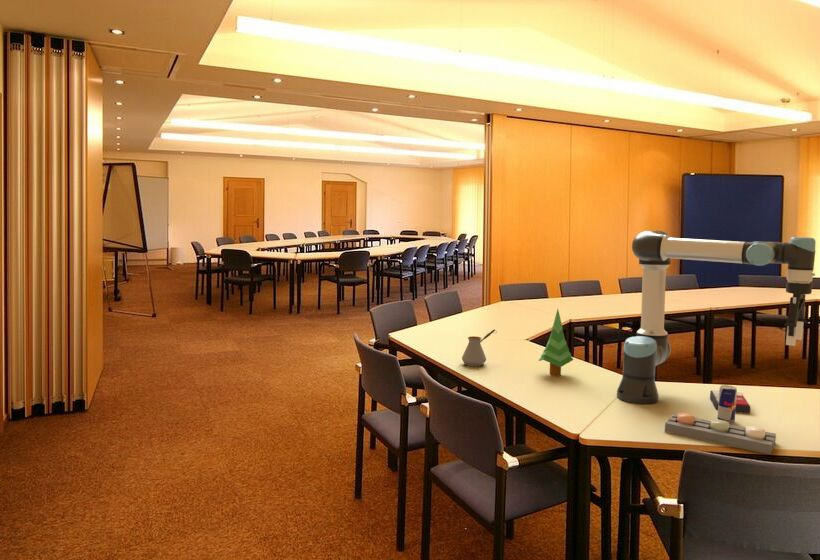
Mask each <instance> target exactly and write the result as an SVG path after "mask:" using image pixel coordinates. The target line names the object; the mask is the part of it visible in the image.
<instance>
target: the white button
mask: <svg viewBox="0 0 820 560" xmlns="http://www.w3.org/2000/svg"><path fill="white" fill-rule="evenodd" d="M745 428H746V434H745V437H750V438H755V439H760V440H765V432H766V430H765V429H764V428H761V427H758V426H753V425H748V426H745Z"/></svg>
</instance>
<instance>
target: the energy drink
mask: <svg viewBox="0 0 820 560" xmlns="http://www.w3.org/2000/svg"><path fill="white" fill-rule="evenodd" d="M737 390H738V389H737V387H735V386H733V385H728V384H727V385H726V384H724V385H720V386H719V389H718V391H719V402H718V410H717V420H723V421H726V422H728V423H729V424H734V423H735V422H736V421H735V420H736V412H735V411H736V398H737V392H738V391H737Z"/></svg>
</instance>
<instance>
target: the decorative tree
mask: <svg viewBox="0 0 820 560" xmlns="http://www.w3.org/2000/svg"><path fill="white" fill-rule="evenodd" d="M553 320H554V321H553V324H552V328H551V331H550V334H549V335H550V336H549V338H548V341H547V344H546V346H545V348H544V349H543V351H542V353H541V355H540V357H539V359H538V361H539V362H540V361H545V362H548V363H549V375H550V376H551V377H560V376H562V367H564V366H566V365H567V364H569V363H571V362H572V361H574V358H573V357H572V353H571V352H570V348H569V347H568V343H567V340H566V339H565V334H564V331H563V329H564V327H563V324H562V320H561V315H560V312H559V308H557V310H556V312H555V317H554V319H553Z"/></svg>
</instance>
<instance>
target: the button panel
mask: <svg viewBox="0 0 820 560" xmlns="http://www.w3.org/2000/svg"><path fill="white" fill-rule="evenodd" d="M677 416H678V413H673V415H672V416H671V417H669V418H668V420H666V421H665V422H664V433H668V434H671V435H672V434H673V435H678V436H682V437H686V438H692V439H695V440H700V441H705V442H710V443H714V444H719V445H724V446H729V447H733V448H738V449H742V450H746V451H751V452H752V451H753V452H756V453H760V454H766V455H772V453H773V450H774V446H775V444H776V439H777V433H774V432H769V431H765V440H760V439H755V438H750V437H745V434H746V426H745V427H743V426H738V425H733V424H729V430H728V433H726V432H721V431H716V430H711V429H710V424H711V420H708V419H704V418H697V417H695V423H694V426H692V425H687V424H682V423H677Z"/></svg>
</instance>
